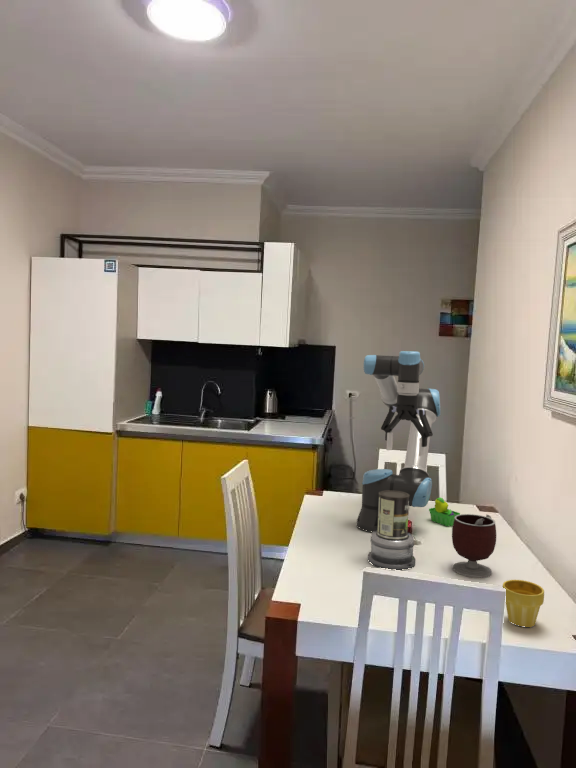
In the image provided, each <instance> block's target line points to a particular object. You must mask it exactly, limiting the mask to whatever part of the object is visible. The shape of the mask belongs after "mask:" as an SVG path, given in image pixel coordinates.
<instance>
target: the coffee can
mask: <svg viewBox="0 0 576 768" xmlns="http://www.w3.org/2000/svg"><path fill="white" fill-rule="evenodd" d="M409 497H410V495H409V494H408V493H405V492H402V491H394V490H386V491H381V492H379V508H378V532H377V534H378V535H379V536H381V537H383V538H387V539H404V538H407V536H408V535H407V534H408V533H409V531H408V530H409V527H408V525H409V511H410V510H409V509H410V508H409V507H410V506H409Z"/></svg>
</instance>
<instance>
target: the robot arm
mask: <svg viewBox="0 0 576 768" xmlns="http://www.w3.org/2000/svg"><path fill="white" fill-rule="evenodd" d="M424 369H425V363H424V361H423V359H421V353H420V351H415V350H414V351H413V350H412V351H410V350H405V351H404V350H401V351H399V354H398V355H383V354H368V355H365V357H364V359H363V372H364V374H365V375H368V376H369V375H370V376H373V378H374V380H375V382H376V384H377V386H378V389H379V391H380V393H379V397H380V398H381V401H382V402H383V404H384V405H385V406H387V407H388V411H387V415H386V417H385V419H384V421H383V422H382V425H381V427H380V429H381V430H382V431H384V432H385V441H386V451H392V450H393V446H394V445H393V442H394V432H393V430H394V428H395V427H396V426H397V425H398V424H399V423H400V421H410V428H409V432H408V439H407V446H406V451H405V452H406V454H405V460H404V467H402V468H401V469H400V470H399V473H398V474H394V473H393V470H392V469H387V468H377V469H370V470H367V471H365V472H364V473H363V476H362V482H361V484H362V486H361V487H362V488H361V491H362V492H361V493H362V494H361V508H360V511H359V513H358V517H357V519H356V527H357V526H358V527H360V528H361V529H364V530H367V531H372V532H373V531H376V530H378V508H379V492H381V491H386V490H394V491H402V492H405V493H408V494H409V495H410V497H409V507H413V508H425V507H426V506H427V505H428V503H429V501H430V498H431V493H432V487H433V480H432V478H431V477H430V476H429V475H430V474H429V473H428V472H427V464H428V463H427V462H428V458H429V457H428V456H429V447H430V439H431V437H433V434H434V433H433V431H432V424H434V423H435V422H436V421H437V417H440V416H441V398H440V397H441V395H440V392H439V390H438V389H435V388H430V387H428V388H420V375H421V374H422V373H423V372H424ZM396 377H397V380H396ZM396 413H397V414H396ZM395 414H396V415H395ZM393 417H394V418H393ZM358 527H357V528H358ZM361 529H360V530H361ZM367 531H366V532H367ZM372 532H371V533H372Z"/></svg>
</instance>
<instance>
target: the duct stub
mask: <svg viewBox="0 0 576 768" xmlns="http://www.w3.org/2000/svg"><path fill="white" fill-rule="evenodd" d="M377 532H378V530H376V531H373V532H371V535H370V552H368V553H367V561H368V560H369V562H371V563H372V564H373V565H372V566H374V567H376V568H378V567H381V568H388V569H396V570H400V571H403V570H402V569H408V568H411V569H413V568H414V567H416V562H417V560H416V557H415V556H414V553H413V552H414V546H415V539H414V538H415V537H414V536H413V535H412V534H411V532H408V534H407V535H408V536H407V538H404V539H387V538H383V537H381V536H379V535H378V534H377ZM369 562H368V563H369ZM412 567H413V568H412ZM381 568H380V569H381ZM408 570H409V569H408Z"/></svg>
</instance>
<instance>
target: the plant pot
mask: <svg viewBox="0 0 576 768" xmlns="http://www.w3.org/2000/svg"><path fill="white" fill-rule="evenodd" d="M502 587H503V588H505V589H506V602H505V607H506V614H507V619H509V620H508V622H509V621H510V622H512V623H514V624H516V625H519V626H525V627H530V628H533V627H534V626H536V622H537V618H538V615H539V612H540V608H541V606H542V605H543V604H544V603H545V602H544V601H545V590H544V588H543V586H540V585H539V584H537V583H535V582H532V581H529V580H524V579H507V580H506V581H504V582H503V583H502ZM510 622H509V623H510ZM532 626H533V627H532Z"/></svg>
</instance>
